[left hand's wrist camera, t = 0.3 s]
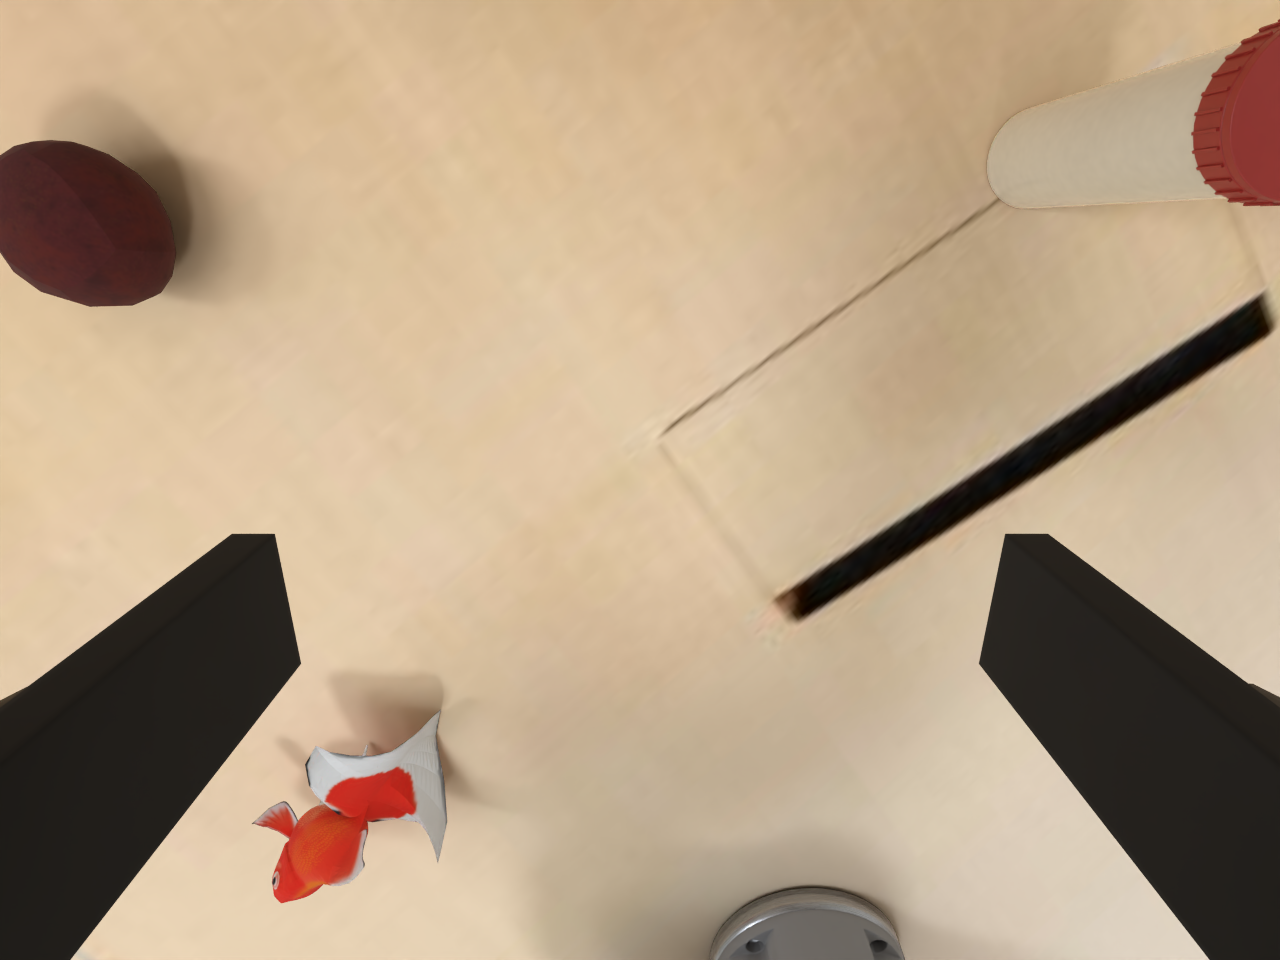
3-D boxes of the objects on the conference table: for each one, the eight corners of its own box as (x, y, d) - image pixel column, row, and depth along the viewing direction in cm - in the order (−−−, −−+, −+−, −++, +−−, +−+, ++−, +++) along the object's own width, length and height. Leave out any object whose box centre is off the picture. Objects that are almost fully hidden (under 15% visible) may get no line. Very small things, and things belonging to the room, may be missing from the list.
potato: (126, 119, 35) (5, 93, 28) (237, 253, 37) (149, 258, 30) (31, 206, 36) (-106, 200, 29) (143, 330, 38) (39, 351, 32)
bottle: (983, 213, 36) (1211, 203, 22) (989, 111, 35) (1243, 26, 20) (1076, 203, 36) (1369, 187, 22) (1087, 100, 34) (1414, 6, 20)
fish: (181, 794, 44) (184, 930, 36) (388, 635, 47) (430, 728, 40) (295, 857, 50) (317, 984, 43) (469, 712, 54) (519, 805, 46)
